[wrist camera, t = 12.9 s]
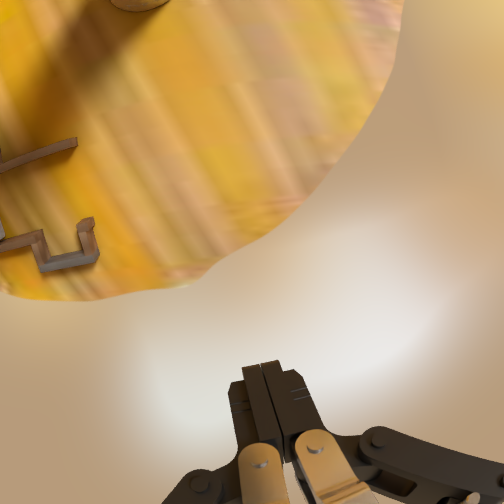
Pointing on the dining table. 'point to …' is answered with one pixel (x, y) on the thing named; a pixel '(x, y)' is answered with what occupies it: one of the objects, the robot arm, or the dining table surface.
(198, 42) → the dining table surface
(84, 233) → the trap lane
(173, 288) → the dining table surface
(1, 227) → the block
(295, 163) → the dining table surface
